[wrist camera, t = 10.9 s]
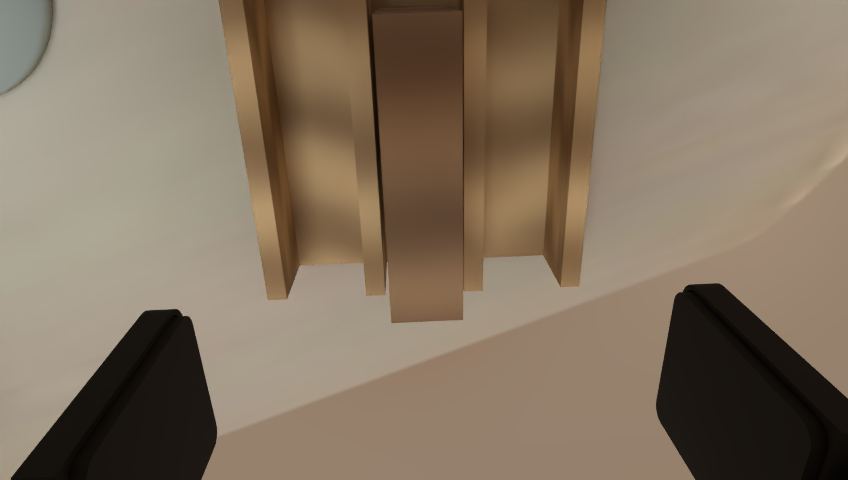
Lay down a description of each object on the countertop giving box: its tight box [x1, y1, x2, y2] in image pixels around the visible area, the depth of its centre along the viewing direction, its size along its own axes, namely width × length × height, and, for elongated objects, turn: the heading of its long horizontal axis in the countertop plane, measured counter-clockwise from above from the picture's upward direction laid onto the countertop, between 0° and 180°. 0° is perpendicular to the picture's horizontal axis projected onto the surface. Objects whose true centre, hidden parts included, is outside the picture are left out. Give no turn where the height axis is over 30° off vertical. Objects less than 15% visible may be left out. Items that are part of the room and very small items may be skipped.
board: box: [372, 5, 463, 323], centre depth 25 cm, size 12×3×10 cm, turn 2°
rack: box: [219, 0, 607, 300], centre depth 29 cm, size 16×18×5 cm
